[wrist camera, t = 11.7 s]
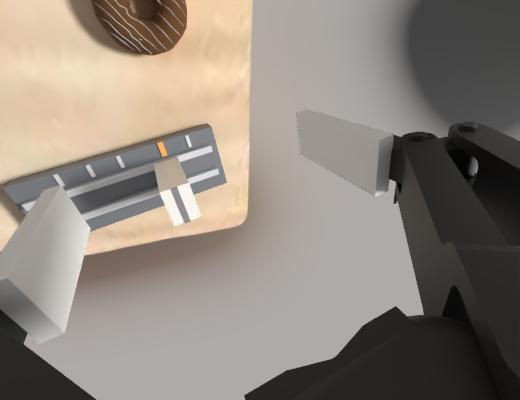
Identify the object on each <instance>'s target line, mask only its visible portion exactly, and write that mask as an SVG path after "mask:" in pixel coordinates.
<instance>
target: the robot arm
mask: <svg viewBox="0 0 520 400" xmlns="http://www.w3.org/2000/svg"><path fill="white" fill-rule="evenodd" d="M296 116H297V126H298V136H299V145H300V154H301V155H303V156H304V157H306V158H308V159H310V160H312V161H313V162H315V163H317V164H319V165H321V166H322V167H324V168H326V169H327V170H329V171H331V172H333V173H334V174H336V175H338V176H340V177H341V178H344V179H345V180H347V181H349V182H350V183H352V184H354V185H356V186H357V187H359V188H361V189H363V190H365V191H367V192H368V193H370V194H372V195H373V196H378V195H380V194H382V193H384V192H387V191H388V186H389V179H391V180H393V181H396V188H395V196H394V204H395V203H397V201H398V204H399V208H400V212H401V217H402V220H403V225H404V229H405V233H406V238H407V242H408V247H409V251H410V255H411V259H412V264H413V268H414V272H415V276H416V281H417V285H418V289H419V293H420V298H421V302H422V306H423V312H424V315H416V316H408V317H407V316H406V315H405V314H403V313H402V312H401V311H400V310H399V309H398V308H397V307H394V308H392V309H390V310H389V311H387V312H385V313H384V314H382V315H380V316H379V317H377V318H375V319H373V320H372V321H370V322H368V323H367V324H365V325H363V326H362V328H361V329H360V330H359V331H358V332H357V333H356V334H355V336H354V337H353V338H352V339H351V340H350V341H349V342H348V343H347V345H346V346H345V347H344V348H343V349H342V350H341V351H340V353H339V354H338V355H337V356H336V357H334V358H333V359H330V360H326V361H322V362H318V363H314V364H311V365H307V366H303V367H299V368H295V369H291V370H287V371H285V372H284V373H282V374H280V375H278V376H277V377H275V378H273V379H271V380H270V381H268V382H266V383H265V384H263V385H261V386H260V387H258V388H256V389H254V390H253V391H251V392H249V393H248V394H246V395H245V396H244V397H245V400H520V141H518V140H516V139H514V138H512V137H509V136H507V135H505V134H503V133H501V132H498V131H496V130H494V129H492V128H490V127H488V126H485V125H482V124H477V123H474V122H464V123H458V124H454V125H452V126H450V128H449V133H448V137H443V138H437V137H436V136H435V135H434V134H431V133H425V132H413V133H408V134H405V135H403V136H402V137H399V136H396V135H394V134H391V133H388V132H385V131H381V130H378V129H374V128H371V127H367V126H364V125H360V124H356V123H353V122H350V121H346V120H342V119H339V118H335V117H332V116H328V115H325V114H322V113H317V112H314V111H311V110H303V111H300V112H297V113H296ZM477 165H478V171H477V174H476V173H475V171H476V168H477ZM90 229H91V228H90V227H89V225H88V224H87V223H86V221H85V220H84V218H83V217H82V215H81V214H80V212H79V211H78V209H77V208H76V206H75V205H74V203H73V202H72V200H71V199H70V197H69V196H68V194H67V193H66V191H65V190H64V188H63V187H62V186H61V185H59V186H56V187H52V188H49V189H46V190H43V192H42V193H41V195H40V196H39V197H38V199H37V200H36V202H35V203H34V205H33V206H32V208H31V209H30V211H29V212H28V213H27V215H26V216H25V218H24V219H23V221H22V222H21V224H20V225H19V227H18V228H17V230H16V231H15V232H14V234H13V235H12V237H11V238H10V240H9V241H8V243H7V244H6V246H5V247H4V248H3V250H2V251H1V252H0V400H96V399H95V398H93V397H92V396H91V395H89V394H88V393H87V392H86V391H84V390H83V389H81V388H80V387H79V386H78V385H76V384H75V383H73V382H72V381H71V380H70V379H68V378H67V377H66V376H64V375H63V374H62V373H61V372H59V371H58V370H57V369H55V368H54V367H53V366H51V365H50V364H48V363H47V362H46V361H45V360H43V359H42V358H41V357H40V356H38V355H37V354H36V353H34V352H33V351H32V350H30V349H29V348H28V347H26V346H25V345H24V341H25V338H26V336H27V335H29V336H30V337H31V338H32V339H33V340H35V341H36V342H37V343H38V344H41V343H43V342H45V341H47V340H50V339H52V338H54V337H57V336H59V335H61V334H63V333H65V329H66V325H67V321H68V317H69V313H70V309H71V305H72V301H73V297H74V293H75V289H76V285H77V281H78V277H79V273H80V269H81V265H82V261H83V257H84V253H85V249H86V245H87V241H88V237H89V233H90Z"/></svg>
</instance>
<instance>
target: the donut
mask: <svg viewBox="0 0 520 400" xmlns="http://www.w3.org/2000/svg"><path fill="white" fill-rule="evenodd" d="M92 4H93V7H94V10H95V14H96V16H97V18H98V20H99V21H100V22H101V24H102V25H103V27H104V28H105V29H106V31H107V32H108V33H109V34H110V35H111V37H112V38H113V39H114V40H115V41H116V42H117V43H119V44H120V45H121V46H123V47H125V48H126V49H128V50H131V51H133V52H135V53H141V54H147V55H157V54H160V53H164V52H167V51H169V50H171V49H172V48H173V47H174V46H175V45H176V44H177V42H178V41H179V40H180V39H181V37H182V36H183V33H184V31H185V29H186V23H187V7H186V2H185V0H154V8H155V10H154V12H153V17H152V18H150V19H148V20H143V19H140V18H139V17H138V16H137V15H136V14H134V13H133V12H132V10H131V7H130V2H129V0H92Z"/></svg>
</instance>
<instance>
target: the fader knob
mask: <svg viewBox="0 0 520 400" xmlns="http://www.w3.org/2000/svg"><path fill="white" fill-rule="evenodd" d="M154 168H155V173H156V178H157V183H158V188H159V193H160V195H161V197H162V200H163V202H164V204H165V206H166V209H167V211H168V213H169V215H170V217H171V220H172V222H173V224H174V226H177V225H180V224H182V223H185V222H186V223H187V222H190V220H193V219H195V218H198V217H201V214H200V211H199V208H198V206H197V203H196V200H195V198H194V195H193V192H192V189H191V187H190V184H189V182H188V179H187V177H186V175H185V173H184V171H183V168H182V166H181V164H180V162H179V160H178V157H175V158H172V159H169V160H166V161H163V162H160V163H156V164H154Z"/></svg>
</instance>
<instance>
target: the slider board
mask: <svg viewBox="0 0 520 400" xmlns="http://www.w3.org/2000/svg"><path fill="white" fill-rule="evenodd" d="M175 157H178V160H179V162H180V164H181V166H182V168H183V171H184V173H185V175H186V177H187V179H188V182H189V184H190V187H191V189H192V192H193V195H194V194H197V193H200V192H202V191H205V190H208V189H211V188H213V187H216V186H219V185H222V184H225V183H227V181H226V178H225V174H224V170H223V167H222V163H221V160H220V156H219V153H218V149H217V145H216V142H215V138H214V135H213V131H212V128H211V126H210V125H209V124H205V125H201V126H198V127H194V128H191V129H187V130H184V131H181V132H177V133H174V134H170V135H167V136H163V137H160V138H157V139H153V140H150V141H146V142H143V143H139V144H136V145H132V146H129V147H126V148H122V149H119V150H115V151H112V152H108V153H105V154H101V155H98V156H95V157H91V158H88V159H84V160H81V161H77V162H74V163H71V164H67V165H64V166H60V167H57V168H53V169H50V170H46V171H43V172H40V173H36V174H33V175H29V176H26V177H22V178H19V179H16V180H12V181H9V182H8V183H7V184H6V185H5V186H4V187H3V190H4V191H5V192H6V193H7V194H8V196H9V197H10V198H11V199H12V201H13V202H14V203H15V204H16V205H17V207H18V208H19V209H20V210H21V212H22V213H23V214H24V215H25V216H26V215H27V213H28V212H29V211H30V209H31V208H32V206H33V205H34V203H35V202H36V200H37V199H38V197H39V196H40V195H41V193H42V192H43V190H46V189H49V188H52V187H56V186H59V185H61V186H62V187H63V188H64V190H65V191H66V193H67V194H68V196H69V197H70V199H71V200H72V202H73V203H74V205H75V206H76V208H77V209H78V211H79V212H80V214H81V215H82V217H83V218H84V220H85V221H86V223H87V224H88V225H89V227H90V228H91V229H90V232H91V231H93V230H96V229H99V228H102V227H104V226H107V225H110V224H113V223H116V222H118V221H121V220H124V219H127V218H130V217H132V216H135V215H138V214H141V213H144V212H146V211H149V210H152V209H155V208H158V207H160V206H163V205H165V204H164V202H163V200H162V197H161V195H160V193H159V188H158V183H157V178H156V173H155V168H154V164H156V163H160V162H163V161H166V160H169V159H172V158H175Z"/></svg>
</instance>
